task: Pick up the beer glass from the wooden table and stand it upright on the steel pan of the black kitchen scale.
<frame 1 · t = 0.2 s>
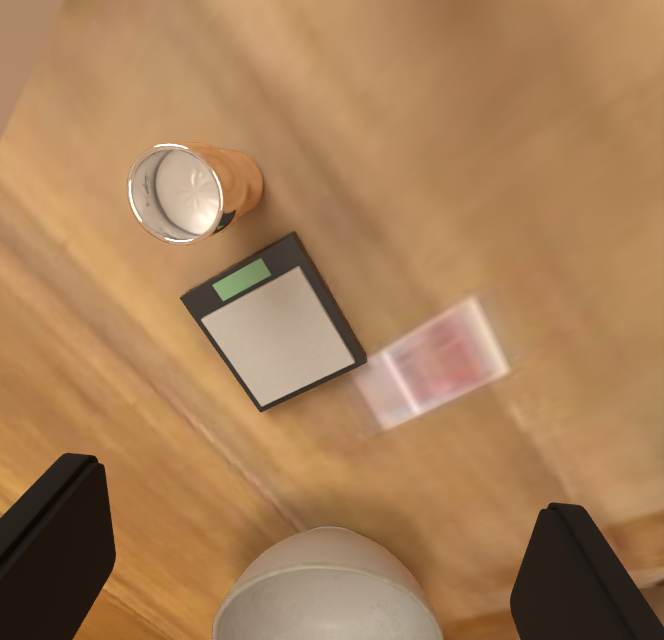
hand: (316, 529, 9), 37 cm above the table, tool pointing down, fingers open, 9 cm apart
beer glass: (233, 183, 42), on the table
decorative bowl: (331, 557, 60), on the table
scale: (278, 324, 48), on the table
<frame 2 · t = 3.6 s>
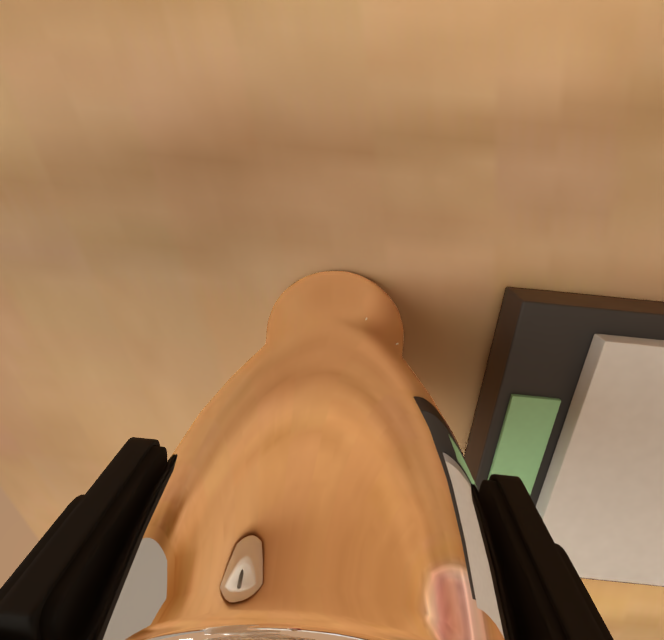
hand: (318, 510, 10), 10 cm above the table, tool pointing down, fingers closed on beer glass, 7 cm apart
beer glass: (335, 333, 19), on the table, touching gripper
scale: (636, 441, 20), on the table
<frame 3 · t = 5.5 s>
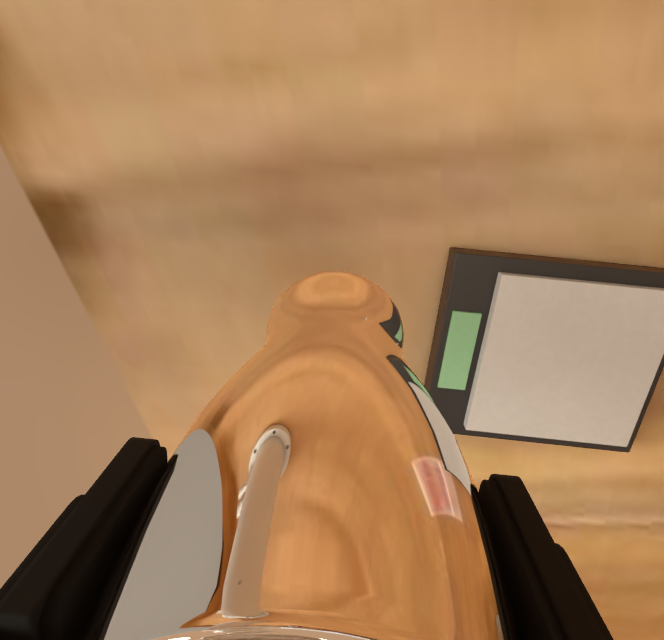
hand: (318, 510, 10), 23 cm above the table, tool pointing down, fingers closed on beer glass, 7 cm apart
beer glass: (335, 333, 19), point 12 cm above the table, touching gripper
scale: (538, 348, 32), on the table
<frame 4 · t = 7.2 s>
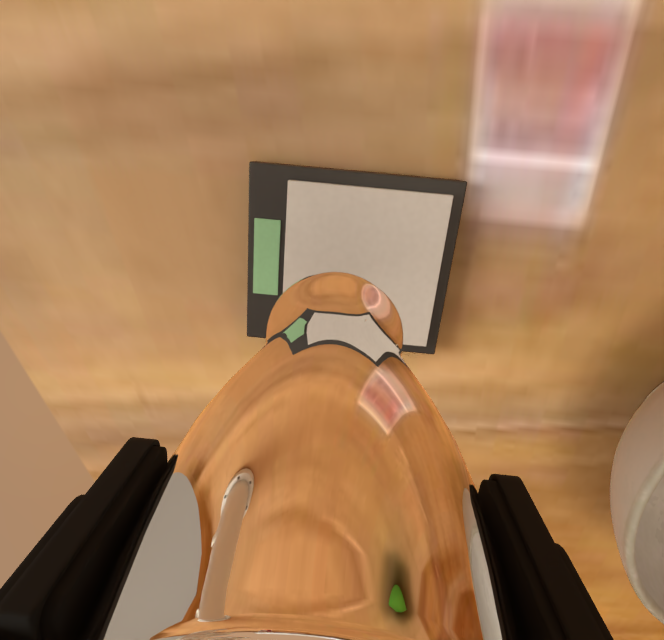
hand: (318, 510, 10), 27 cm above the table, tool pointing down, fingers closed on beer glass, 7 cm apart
beer glass: (334, 334, 19), point 17 cm above the table, touching gripper
scale: (348, 259, 35), on the table
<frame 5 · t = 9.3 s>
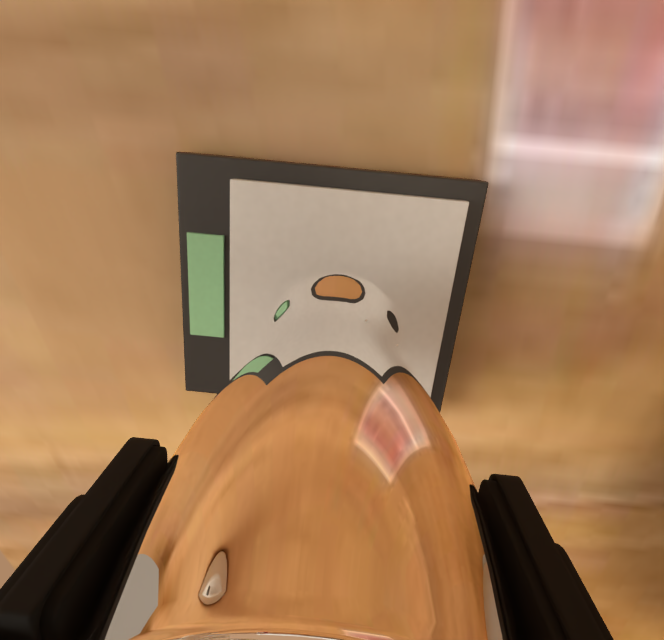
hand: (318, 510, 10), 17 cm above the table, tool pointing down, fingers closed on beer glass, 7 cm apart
beer glass: (335, 334, 19), point 7 cm above the table, touching gripper
scale: (323, 287, 26), on the table
when the fingers open (13 cm above the table, at t = 11.0 s): beer glass stays where it is, resting on scale.
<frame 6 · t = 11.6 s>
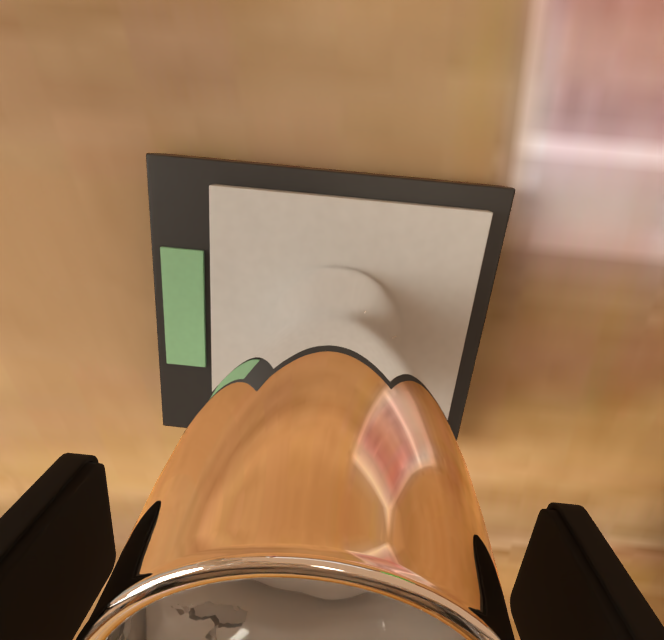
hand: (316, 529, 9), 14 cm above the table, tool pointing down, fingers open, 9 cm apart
beer glass: (335, 328, 20), point 3 cm above the table, touching scale
scale: (320, 308, 23), on the table
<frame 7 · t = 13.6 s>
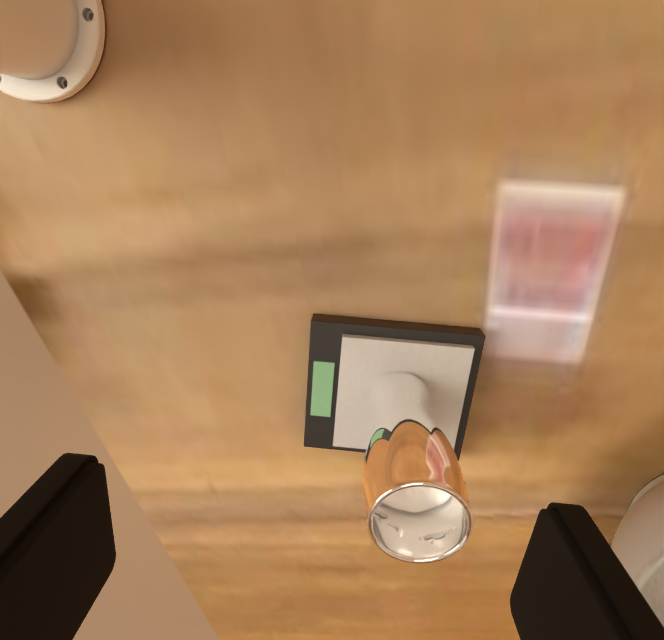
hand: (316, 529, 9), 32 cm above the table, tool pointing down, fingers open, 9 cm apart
beer glass: (398, 398, 41), point 3 cm above the table, touching scale
scale: (387, 385, 43), on the table
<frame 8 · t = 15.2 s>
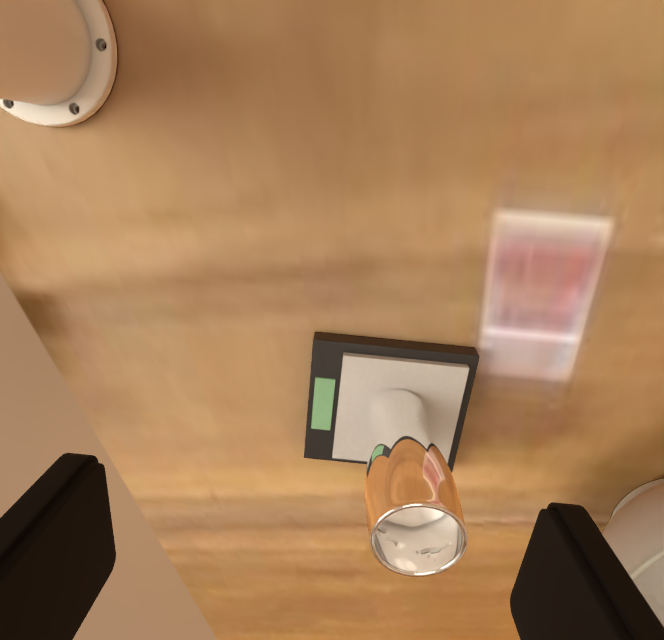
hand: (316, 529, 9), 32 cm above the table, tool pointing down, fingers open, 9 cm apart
beer glass: (396, 414, 43), point 3 cm above the table, touching scale
decorative bowl: (663, 517, 49), on the table
scale: (385, 399, 45), on the table
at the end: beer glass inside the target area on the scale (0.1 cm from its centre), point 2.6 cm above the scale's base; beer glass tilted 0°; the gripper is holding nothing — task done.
